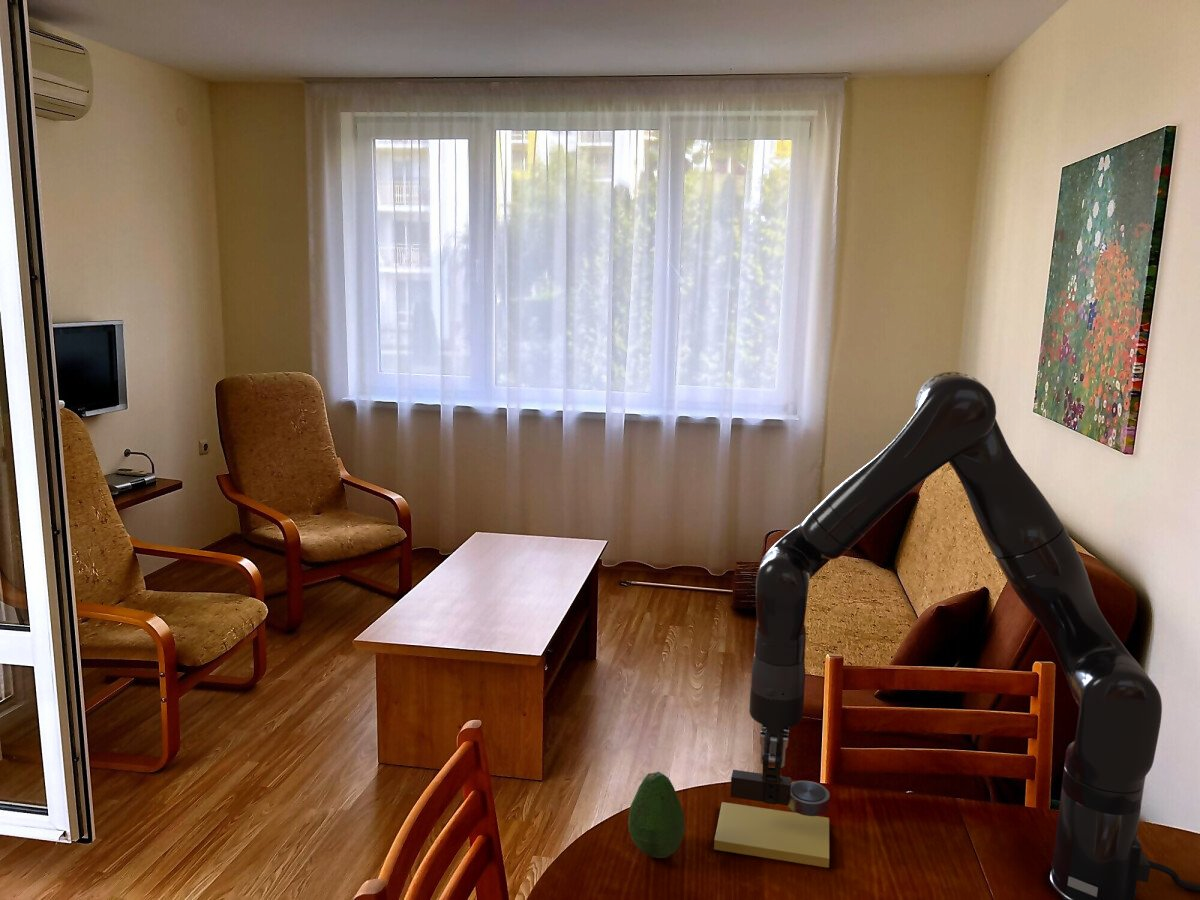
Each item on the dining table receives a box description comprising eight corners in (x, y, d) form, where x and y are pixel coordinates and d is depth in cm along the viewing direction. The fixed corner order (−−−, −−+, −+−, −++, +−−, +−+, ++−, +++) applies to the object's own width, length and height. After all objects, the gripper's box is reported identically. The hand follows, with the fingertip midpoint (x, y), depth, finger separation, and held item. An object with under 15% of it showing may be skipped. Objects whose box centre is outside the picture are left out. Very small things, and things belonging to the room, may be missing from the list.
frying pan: (828, 796, 133) (830, 776, 132) (829, 819, 127) (830, 798, 127) (732, 782, 136) (733, 762, 136) (728, 804, 130) (729, 784, 130)
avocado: (661, 830, 134) (663, 755, 132) (694, 858, 128) (697, 781, 126) (616, 847, 130) (617, 771, 128) (648, 878, 124) (650, 798, 121)
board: (828, 826, 136) (829, 817, 136) (828, 868, 126) (829, 858, 126) (721, 810, 140) (722, 801, 139) (714, 849, 130) (714, 840, 130)
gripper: (803, 711, 121) (795, 828, 124) (805, 669, 134) (798, 775, 138) (746, 704, 123) (740, 820, 126) (754, 663, 136) (748, 768, 139)
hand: (771, 796), depth 132 cm, fingers closed on frying pan, 2 cm apart
